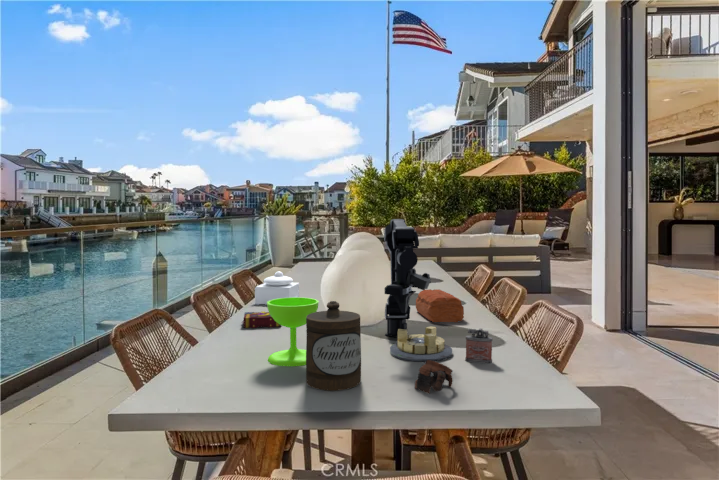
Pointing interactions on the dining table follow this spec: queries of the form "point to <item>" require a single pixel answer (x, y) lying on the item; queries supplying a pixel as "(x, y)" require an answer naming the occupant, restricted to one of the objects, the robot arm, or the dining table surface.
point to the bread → (439, 306)
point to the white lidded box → (276, 288)
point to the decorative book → (259, 320)
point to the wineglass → (291, 326)
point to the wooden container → (333, 349)
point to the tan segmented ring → (430, 343)
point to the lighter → (478, 347)
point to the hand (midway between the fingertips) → (404, 312)
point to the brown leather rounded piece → (435, 381)
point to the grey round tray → (420, 357)
